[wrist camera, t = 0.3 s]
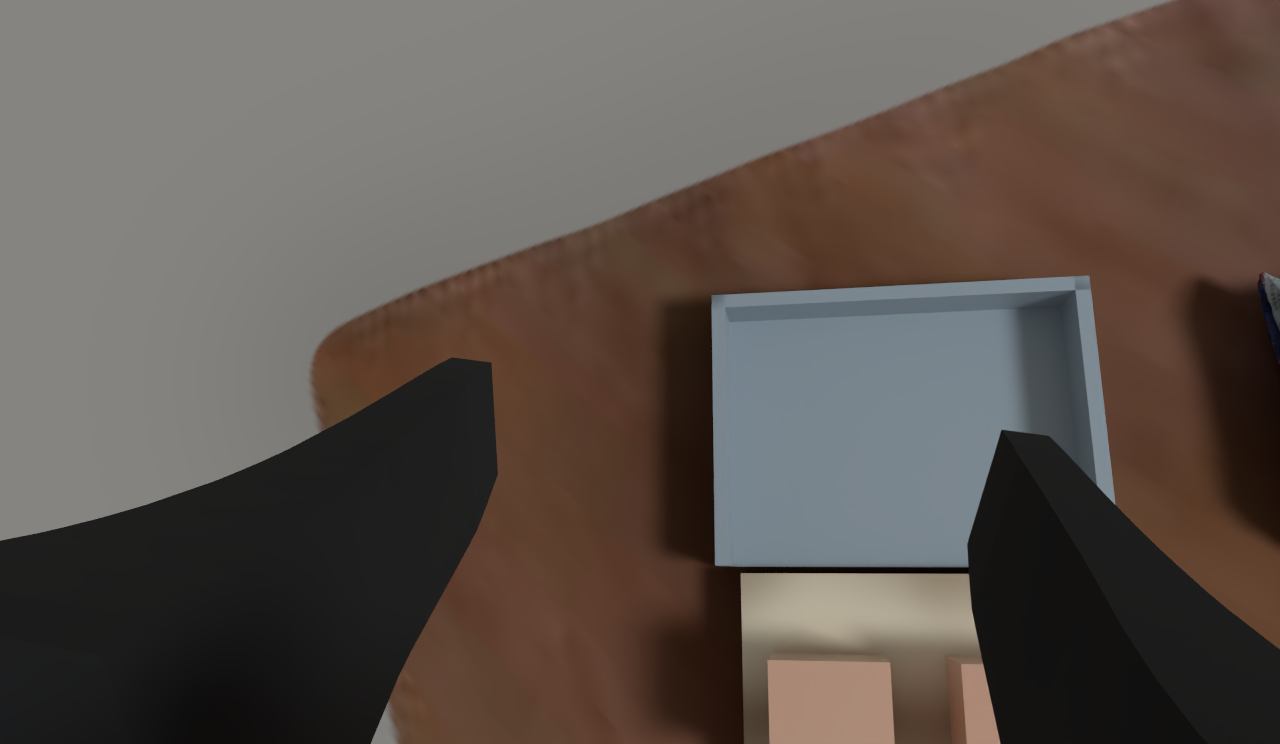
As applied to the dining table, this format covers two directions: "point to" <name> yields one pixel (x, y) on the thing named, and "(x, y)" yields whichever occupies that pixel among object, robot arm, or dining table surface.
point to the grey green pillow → (1271, 307)
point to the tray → (890, 414)
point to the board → (861, 638)
